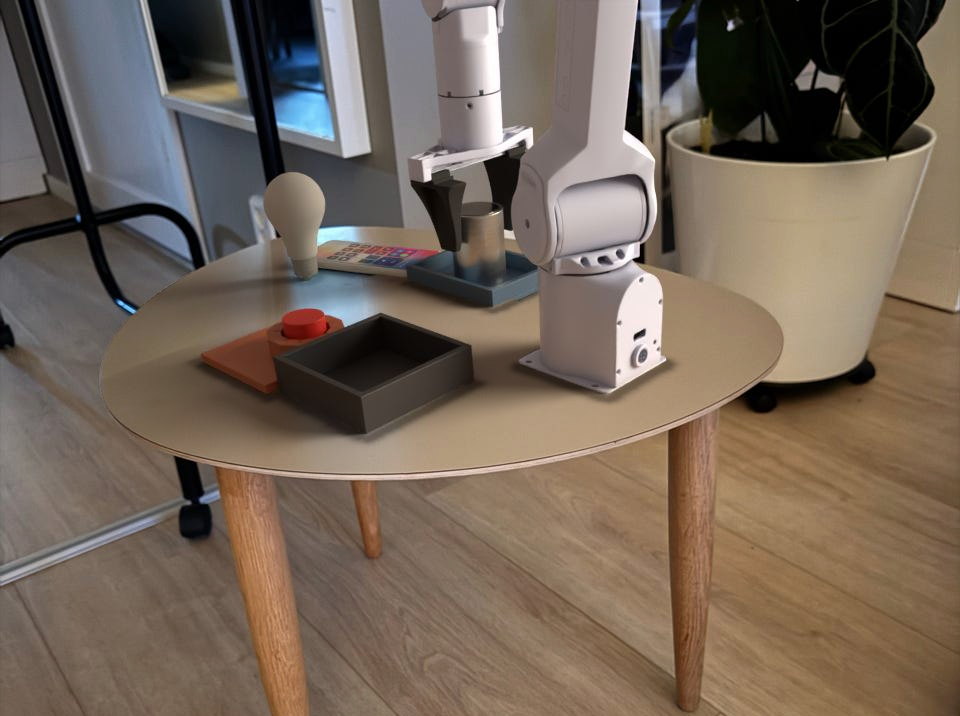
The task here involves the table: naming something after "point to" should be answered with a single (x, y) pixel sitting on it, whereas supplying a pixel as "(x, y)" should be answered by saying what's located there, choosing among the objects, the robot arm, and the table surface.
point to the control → (259, 354)
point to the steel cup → (481, 244)
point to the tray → (441, 276)
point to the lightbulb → (296, 218)
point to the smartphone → (369, 257)
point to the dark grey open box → (374, 371)
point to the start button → (304, 324)
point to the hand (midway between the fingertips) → (478, 239)
